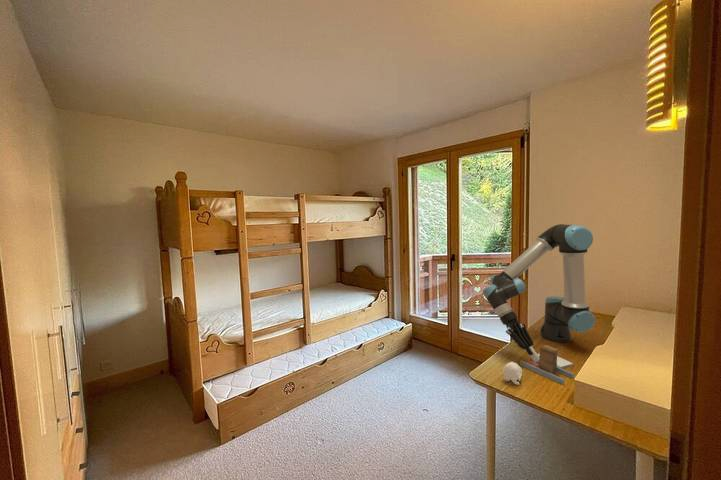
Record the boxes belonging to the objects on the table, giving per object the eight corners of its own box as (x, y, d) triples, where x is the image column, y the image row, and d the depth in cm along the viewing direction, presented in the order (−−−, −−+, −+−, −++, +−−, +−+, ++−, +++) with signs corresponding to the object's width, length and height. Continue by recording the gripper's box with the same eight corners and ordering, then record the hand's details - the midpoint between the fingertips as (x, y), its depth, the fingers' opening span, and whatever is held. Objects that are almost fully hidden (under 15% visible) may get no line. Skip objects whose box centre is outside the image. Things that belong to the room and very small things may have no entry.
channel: (531, 359, 142) (531, 355, 141) (573, 378, 126) (574, 373, 126) (520, 365, 137) (520, 361, 136) (562, 384, 121) (563, 380, 121)
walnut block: (544, 367, 134) (545, 345, 133) (556, 373, 130) (557, 349, 129) (538, 371, 132) (540, 347, 130) (550, 376, 127) (552, 352, 126)
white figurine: (502, 362, 123) (511, 354, 132) (500, 381, 123) (510, 373, 132) (518, 367, 119) (527, 359, 127) (517, 388, 119) (525, 378, 127)
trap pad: (530, 361, 140) (530, 360, 140) (539, 365, 137) (539, 364, 136) (523, 364, 137) (523, 363, 137) (532, 368, 134) (532, 367, 134)
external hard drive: (560, 370, 133) (536, 357, 145) (573, 366, 136) (548, 354, 148) (561, 366, 133) (536, 353, 145) (573, 363, 136) (548, 351, 148)
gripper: (508, 315, 151) (539, 360, 139) (492, 320, 145) (523, 368, 132) (519, 308, 146) (552, 354, 134) (503, 313, 140) (536, 362, 127)
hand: (537, 361), depth 133 cm, fingers closed
